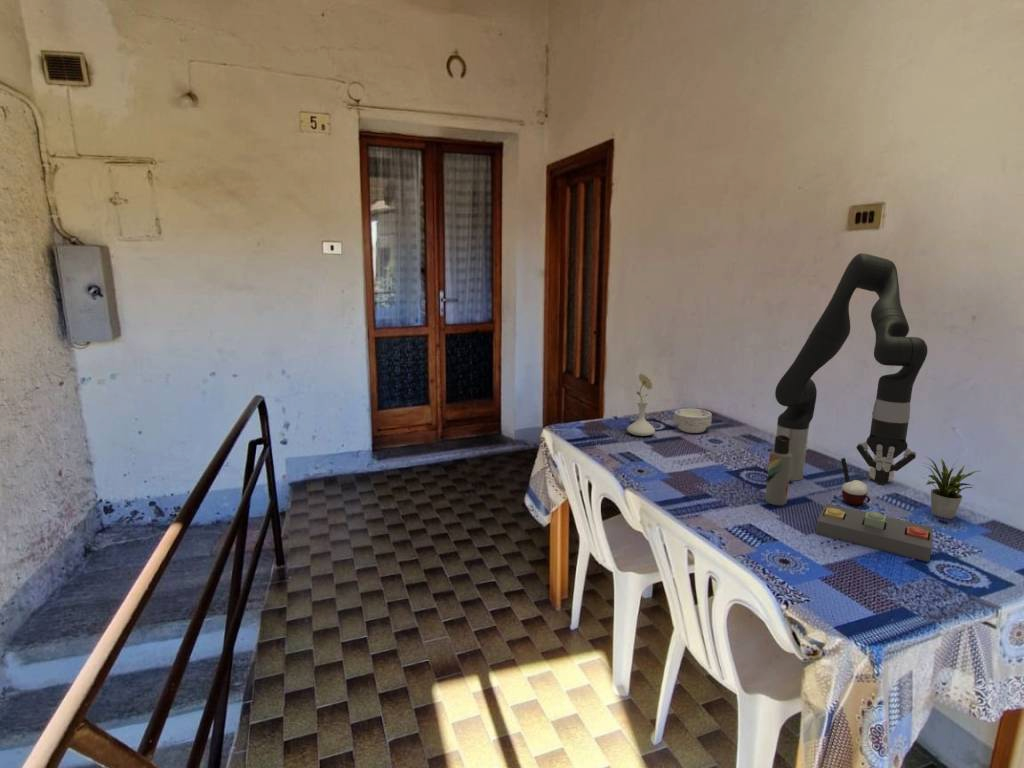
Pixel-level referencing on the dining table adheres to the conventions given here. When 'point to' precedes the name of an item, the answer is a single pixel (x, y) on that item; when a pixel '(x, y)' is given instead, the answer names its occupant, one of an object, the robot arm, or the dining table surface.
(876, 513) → the sage button
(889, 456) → the robot arm
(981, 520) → the dining table surface
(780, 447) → the lotion bottle
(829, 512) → the ochre button
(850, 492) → the cocoa
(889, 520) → the panel
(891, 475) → the plastic bottle
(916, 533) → the red button
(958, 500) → the house plant
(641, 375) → the flower in vase
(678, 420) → the paper bowls
